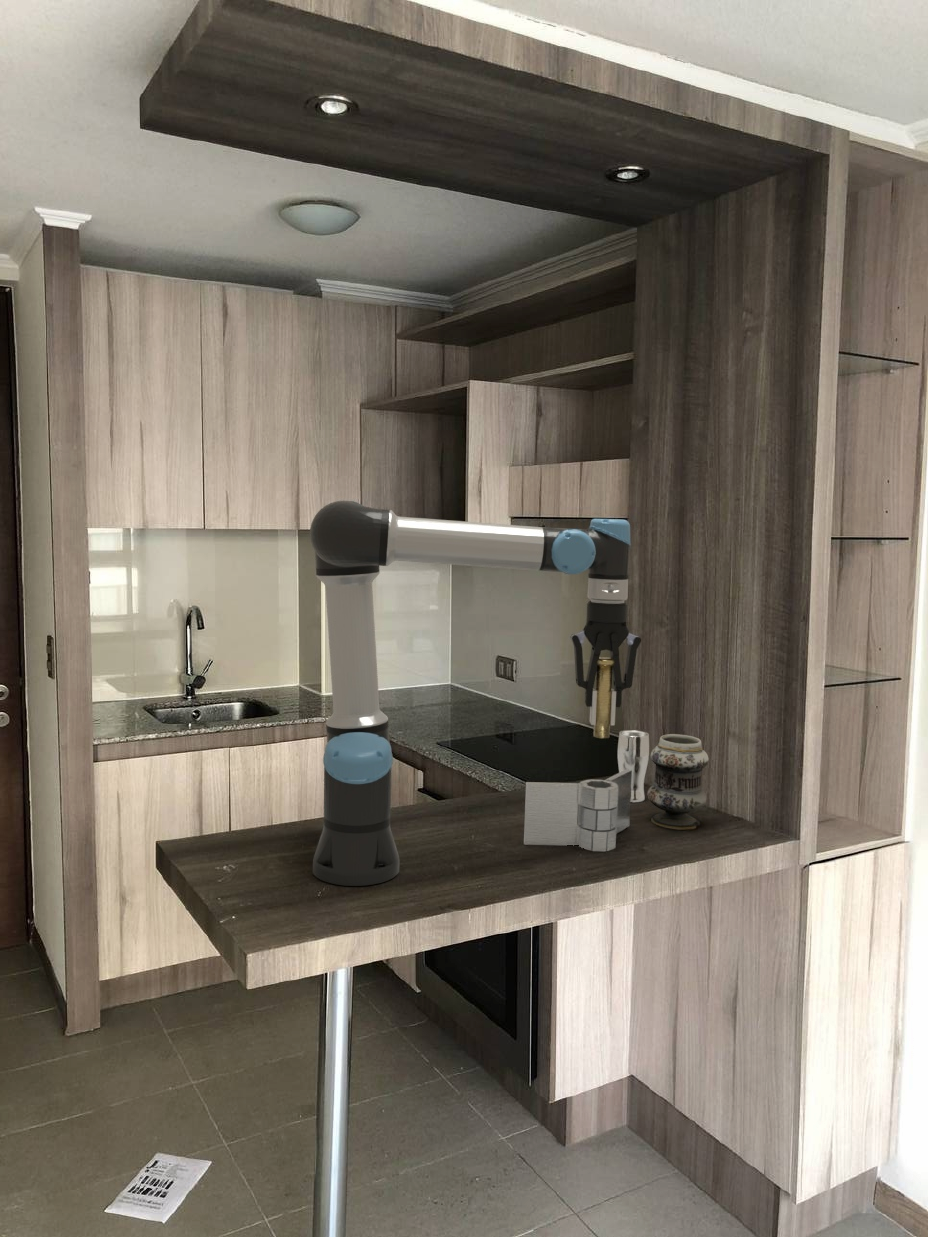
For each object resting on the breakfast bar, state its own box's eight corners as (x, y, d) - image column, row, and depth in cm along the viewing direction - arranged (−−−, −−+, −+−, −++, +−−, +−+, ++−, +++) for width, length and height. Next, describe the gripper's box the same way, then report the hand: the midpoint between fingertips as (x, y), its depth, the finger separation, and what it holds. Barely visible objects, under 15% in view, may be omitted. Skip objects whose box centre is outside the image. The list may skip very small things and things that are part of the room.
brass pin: (592, 738, 185) (596, 660, 184) (589, 733, 189) (592, 656, 188) (613, 739, 186) (617, 660, 184) (609, 734, 190) (613, 657, 188)
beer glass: (642, 804, 217) (645, 738, 216) (611, 800, 220) (614, 734, 219) (650, 796, 224) (653, 732, 222) (620, 792, 227) (623, 728, 225)
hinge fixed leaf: (525, 849, 186) (527, 788, 185) (522, 837, 193) (524, 778, 192) (617, 851, 186) (620, 790, 185) (611, 839, 193) (613, 779, 192)
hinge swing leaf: (605, 852, 185) (607, 791, 184) (571, 844, 189) (574, 785, 188) (642, 829, 199) (645, 772, 198) (610, 822, 203) (613, 766, 202)
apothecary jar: (697, 835, 197) (702, 748, 195) (639, 826, 202) (643, 740, 200) (710, 819, 208) (715, 736, 206) (654, 810, 213) (658, 729, 211)
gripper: (567, 601, 181) (562, 727, 183) (653, 604, 181) (647, 728, 184) (562, 598, 188) (557, 718, 191) (645, 600, 189) (639, 720, 191)
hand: (602, 723), depth 187 cm, fingers closed on brass pin, 3 cm apart
